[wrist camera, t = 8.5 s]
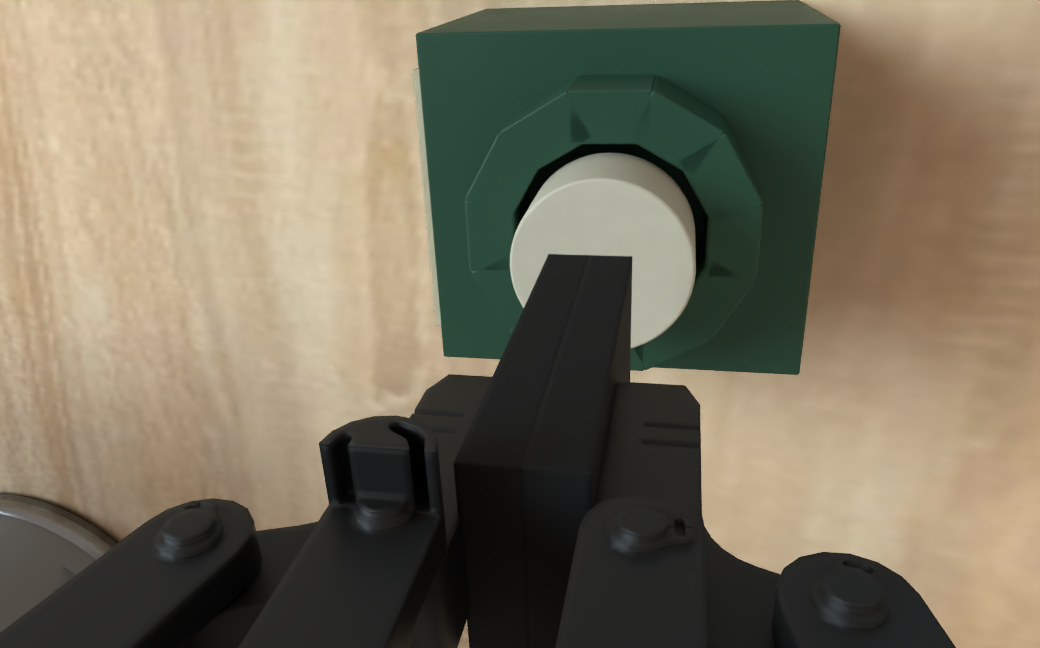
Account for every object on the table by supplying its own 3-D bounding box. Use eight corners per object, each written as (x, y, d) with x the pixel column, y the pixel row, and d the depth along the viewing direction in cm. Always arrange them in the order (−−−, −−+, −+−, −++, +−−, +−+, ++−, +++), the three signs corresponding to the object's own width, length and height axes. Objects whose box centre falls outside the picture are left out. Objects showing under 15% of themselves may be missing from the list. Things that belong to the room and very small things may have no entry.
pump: (530, 307, 21) (513, 348, 19) (525, 151, 19) (504, 177, 17) (691, 314, 20) (691, 358, 18) (700, 151, 18) (701, 179, 16)
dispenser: (498, 263, 31) (421, 394, 22) (485, 8, 27) (385, 43, 18) (773, 271, 29) (810, 418, 20) (799, -1, 25) (859, 33, 16)
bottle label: (476, 263, 28) (435, 326, 24) (462, 45, 25) (412, 70, 21) (482, 263, 28) (442, 326, 24) (469, 45, 25) (419, 69, 21)
